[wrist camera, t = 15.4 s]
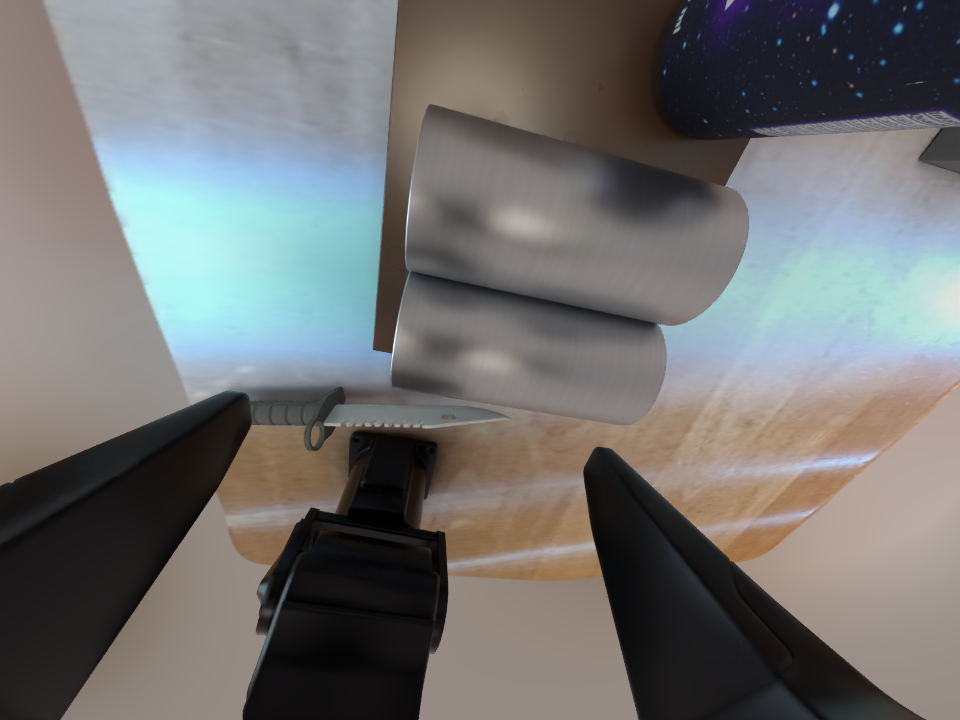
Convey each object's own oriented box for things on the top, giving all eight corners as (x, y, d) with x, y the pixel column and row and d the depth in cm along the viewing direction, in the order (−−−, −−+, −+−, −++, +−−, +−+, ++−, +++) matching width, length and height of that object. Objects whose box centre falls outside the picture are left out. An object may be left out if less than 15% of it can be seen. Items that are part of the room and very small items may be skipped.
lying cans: (589, 382, 22) (624, 450, 17) (406, 349, 21) (385, 413, 16) (685, 181, 16) (785, 194, 11) (437, 112, 15) (419, 90, 9)
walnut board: (609, 384, 24) (614, 392, 23) (376, 342, 21) (372, 350, 21) (815, -14, 14) (838, -26, 13) (416, -170, 11) (412, -196, 11)
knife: (511, 380, 22) (515, 434, 18) (510, 408, 24) (513, 464, 19) (231, 377, 23) (171, 428, 19) (244, 404, 24) (191, 458, 20)
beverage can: (828, -16, 13) (2242, -684, 3) (738, 154, 16) (1241, 158, 5) (695, -68, 12) (1953, -1300, 2) (625, 122, 15) (966, 54, 5)
